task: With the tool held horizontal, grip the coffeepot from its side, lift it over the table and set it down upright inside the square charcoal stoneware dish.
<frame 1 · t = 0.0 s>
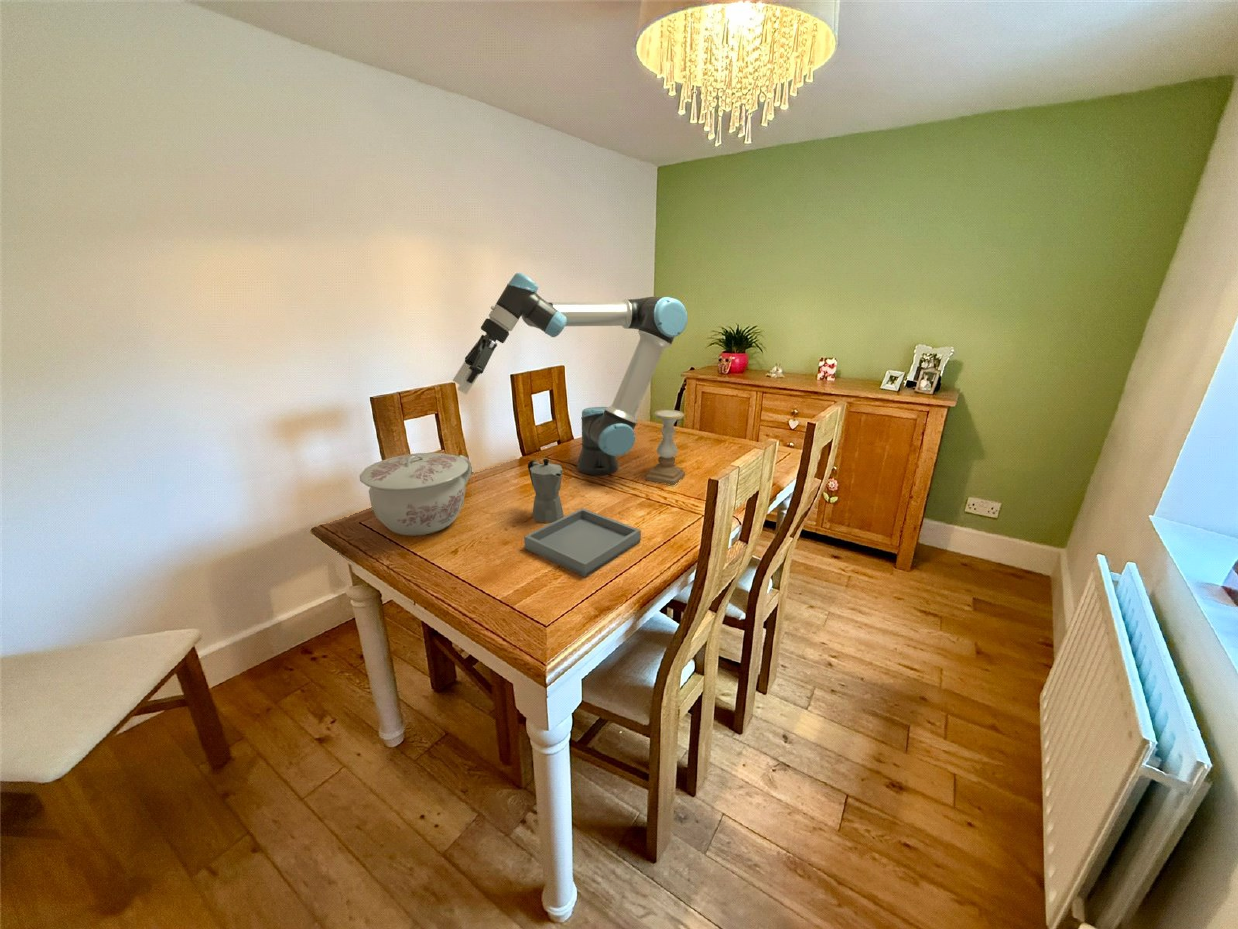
hand: (459, 387, 140), 36 cm above the table, tool tilted 35°, fingers open, 13 cm apart
charcoal dish: (583, 545, 127), on the table
coffeepot: (545, 515, 144), on the table
candle holder: (665, 478, 173), on the table
chamber pot: (424, 524, 137), on the table
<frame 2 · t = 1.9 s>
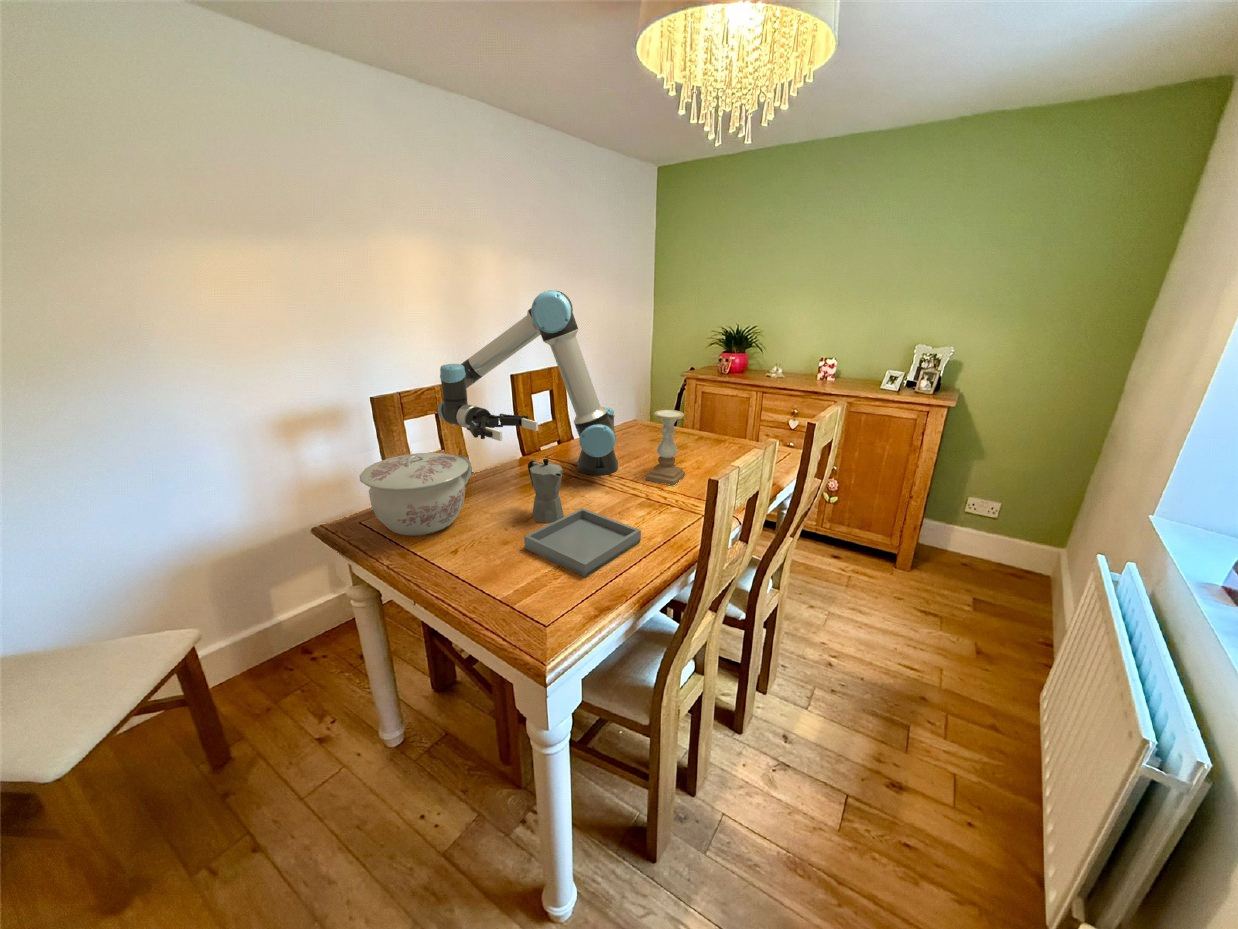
hand: (519, 431, 141), 24 cm above the table, tool horizontal, fingers open, 13 cm apart
nothing on the table moved.
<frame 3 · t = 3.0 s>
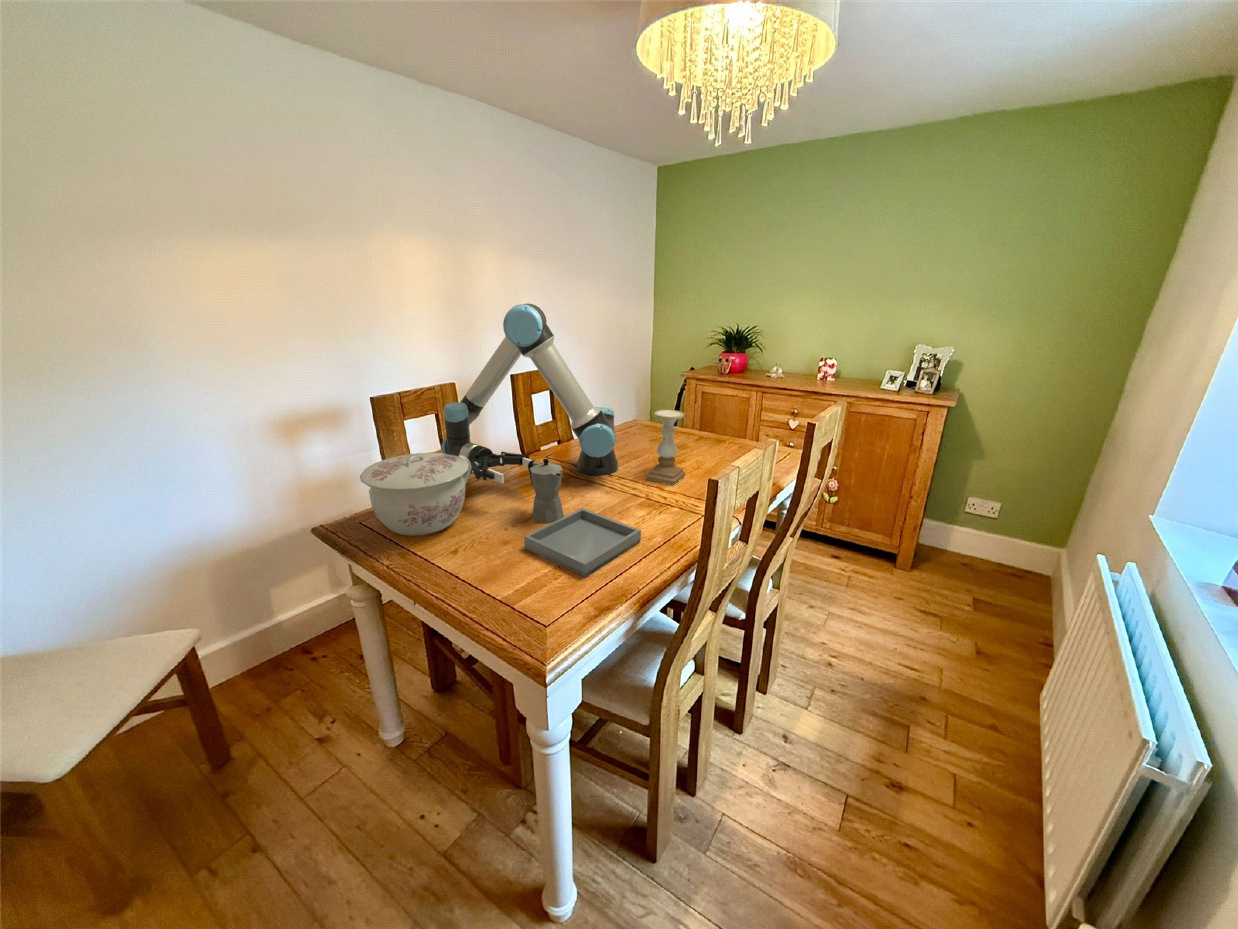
hand: (520, 472, 145), 11 cm above the table, tool horizontal, fingers open, 13 cm apart
nothing on the table moved.
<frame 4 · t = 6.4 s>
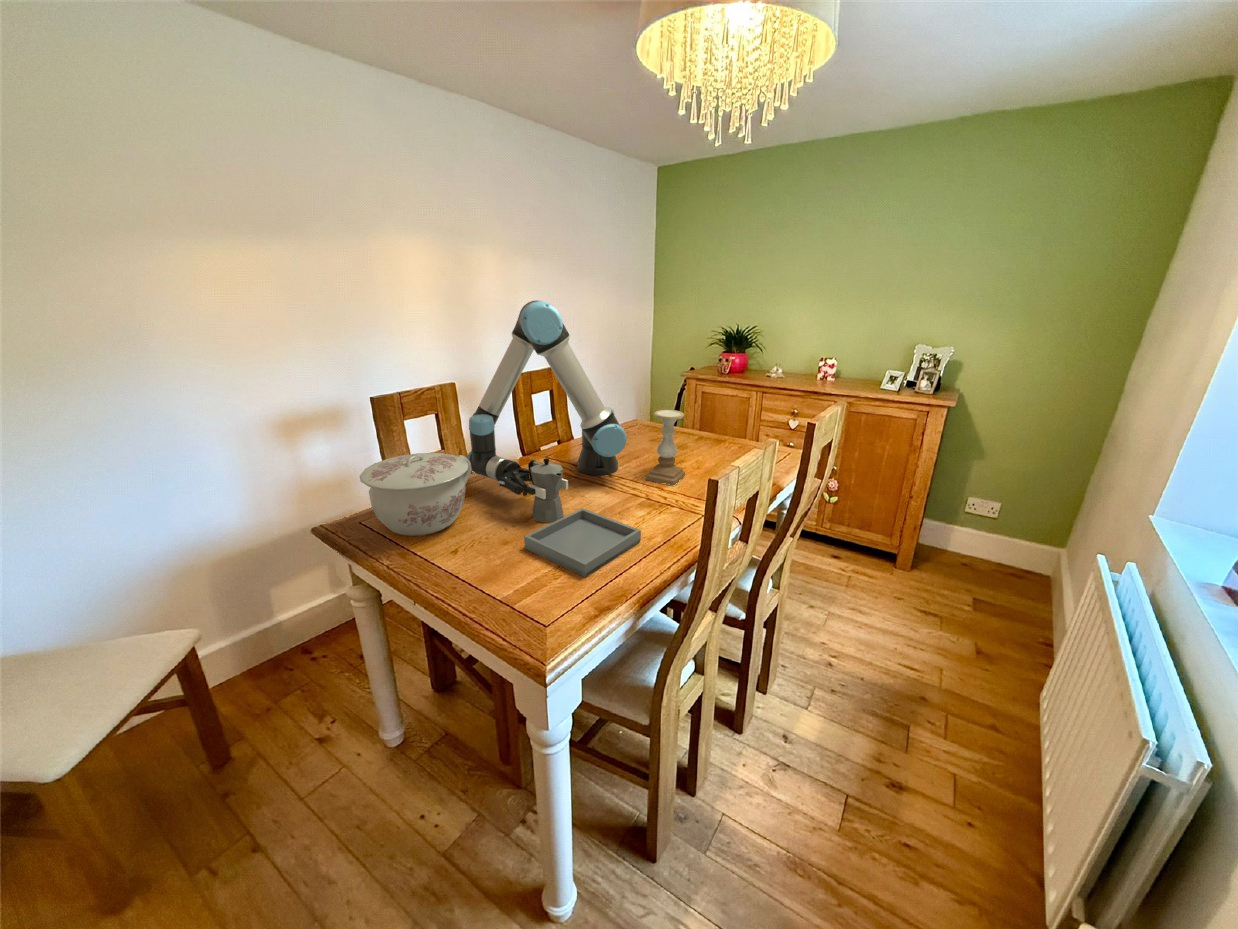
hand: (556, 489, 138), 10 cm above the table, tool horizontal, fingers closed on coffeepot, 8 cm apart
coffeepot: (545, 515, 144), on the table, touching gripper
everything else where it was.
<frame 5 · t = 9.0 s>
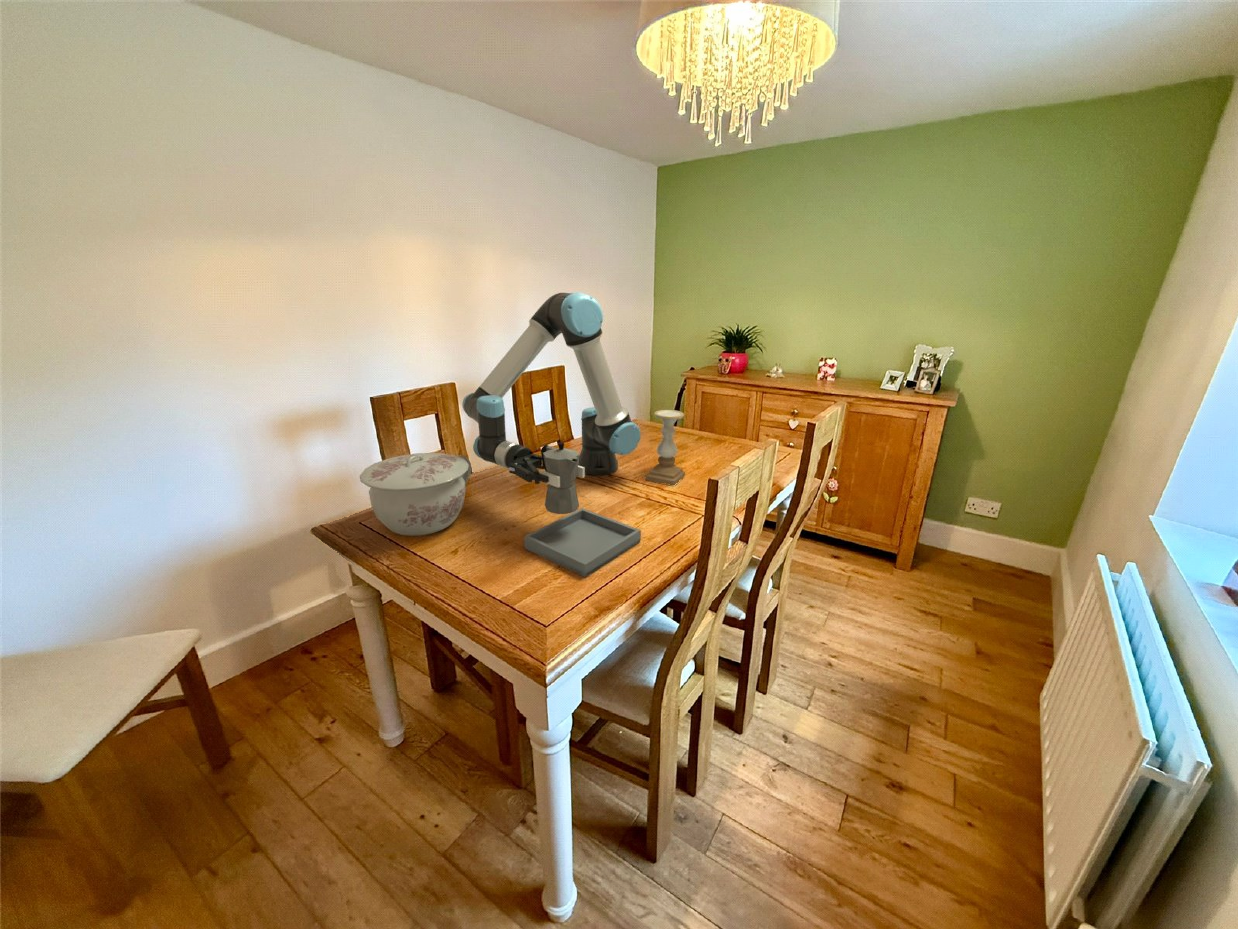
hand: (571, 477, 124), 18 cm above the table, tool horizontal, fingers closed on coffeepot, 8 cm apart
coffeepot: (559, 506, 130), point 8 cm above the table, touching gripper
everything else where it was.
when the fingers open (12 cm above the table, at t = 11.5 s): coffeepot drops 1 cm, resting on charcoal dish.
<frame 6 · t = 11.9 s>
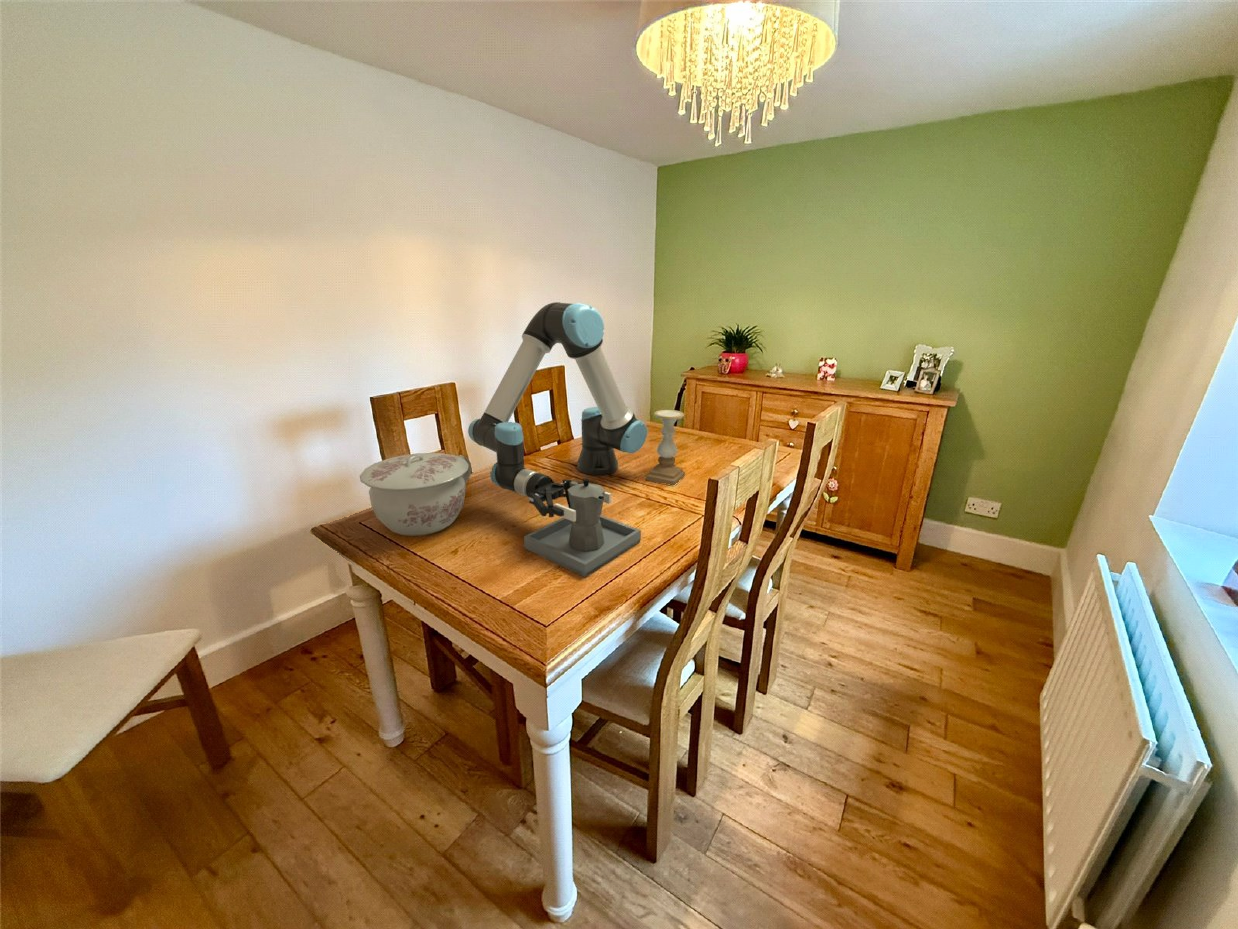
hand: (593, 507, 121), 12 cm above the table, tool horizontal, fingers open, 13 cm apart
coffeepot: (583, 542, 127), point 1 cm above the table, touching charcoal dish
everything else where it was.
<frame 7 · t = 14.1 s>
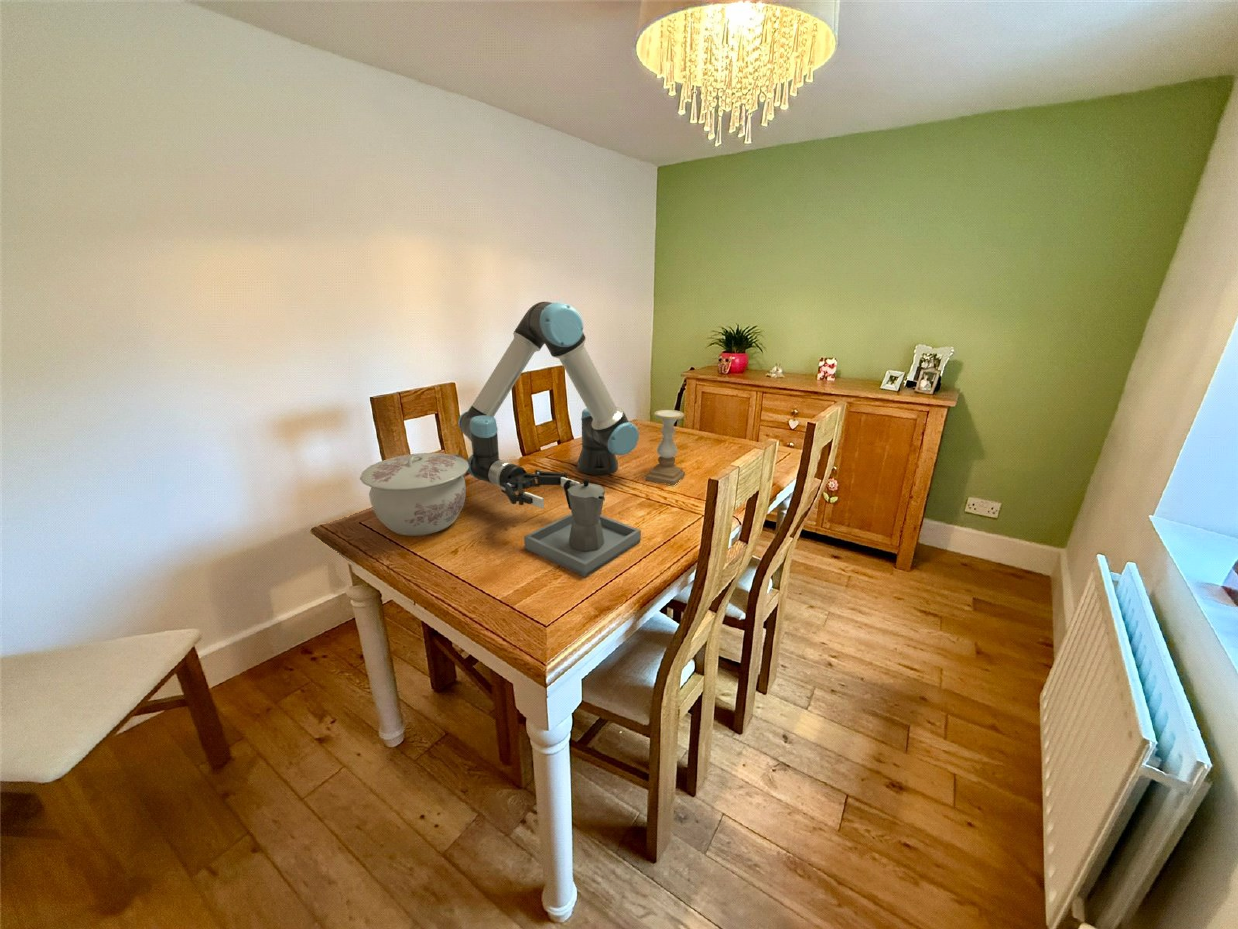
hand: (561, 495, 128), 12 cm above the table, tool horizontal, fingers open, 13 cm apart
chamber pot: (425, 524, 137), on the table, touching arm
everything else where it was.
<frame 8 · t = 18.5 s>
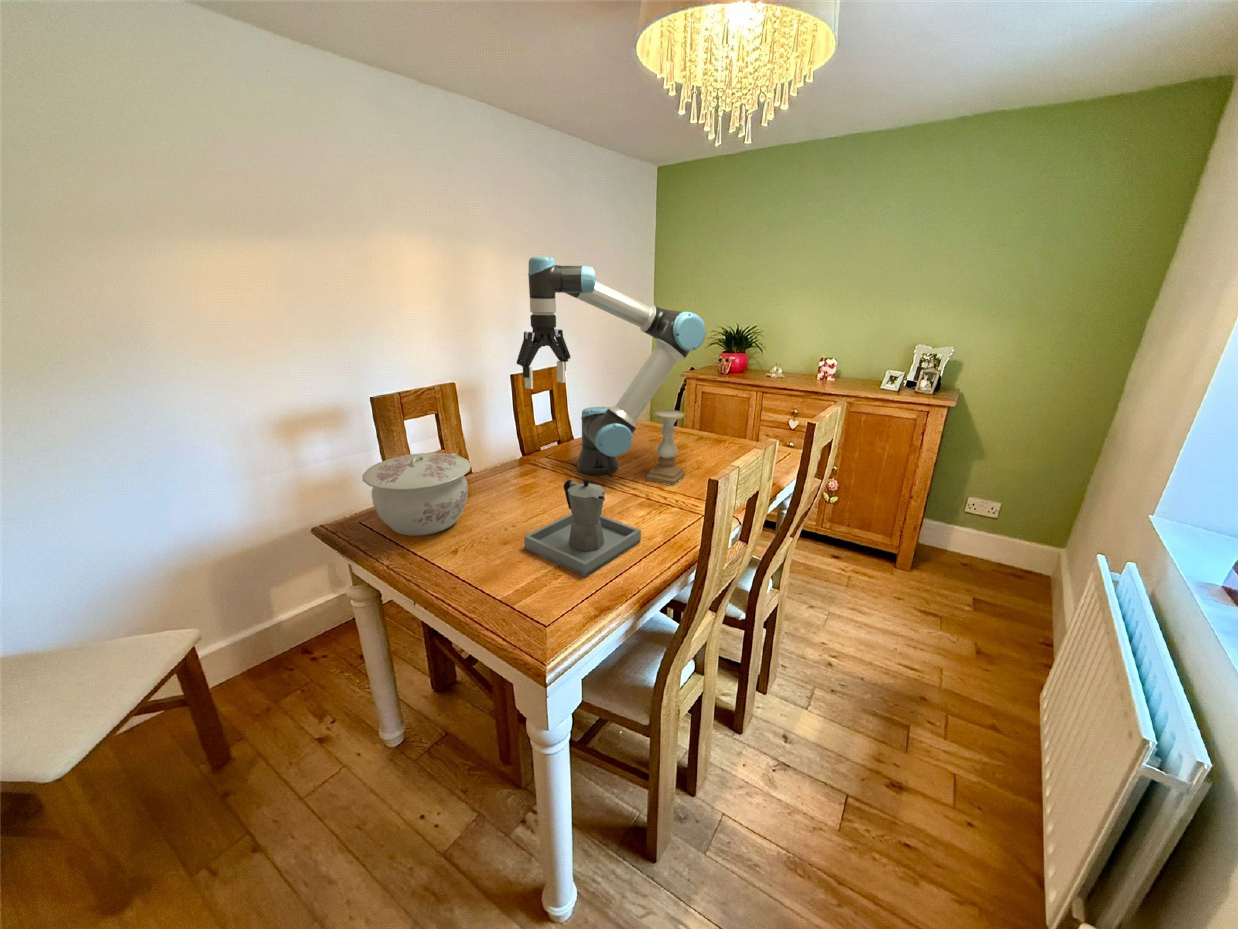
hand: (545, 385, 151), 35 cm above the table, tool pointing down, fingers open, 13 cm apart
chamber pot: (427, 524, 137), on the table
everything else where it was.
at the end: coffeepot inside the target area on the charcoal dish (0.1 cm from its centre), point 0.8 cm above the charcoal dish's base; coffeepot tilted 0°; the gripper is holding nothing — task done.
